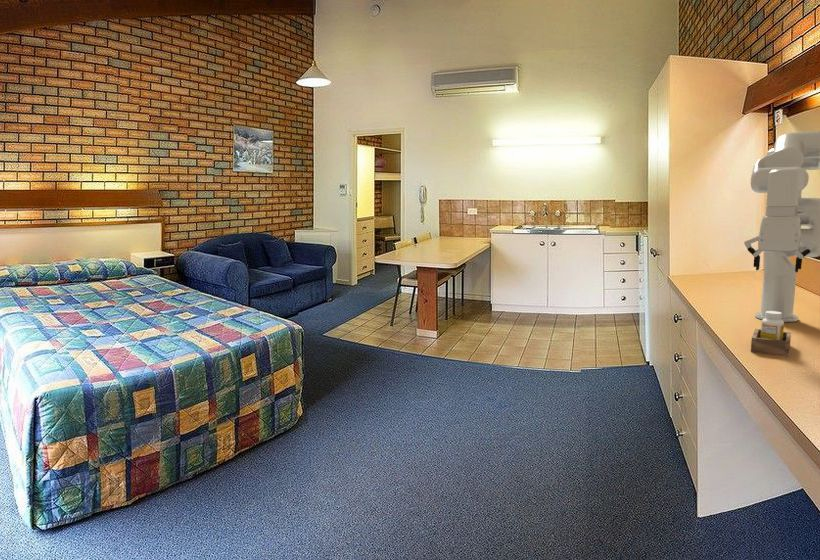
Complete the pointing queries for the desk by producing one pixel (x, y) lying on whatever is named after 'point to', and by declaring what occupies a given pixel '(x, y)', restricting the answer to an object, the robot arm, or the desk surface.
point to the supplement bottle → (772, 326)
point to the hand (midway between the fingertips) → (776, 270)
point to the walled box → (770, 344)
